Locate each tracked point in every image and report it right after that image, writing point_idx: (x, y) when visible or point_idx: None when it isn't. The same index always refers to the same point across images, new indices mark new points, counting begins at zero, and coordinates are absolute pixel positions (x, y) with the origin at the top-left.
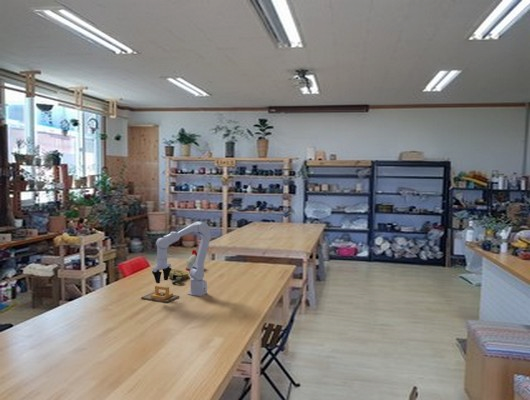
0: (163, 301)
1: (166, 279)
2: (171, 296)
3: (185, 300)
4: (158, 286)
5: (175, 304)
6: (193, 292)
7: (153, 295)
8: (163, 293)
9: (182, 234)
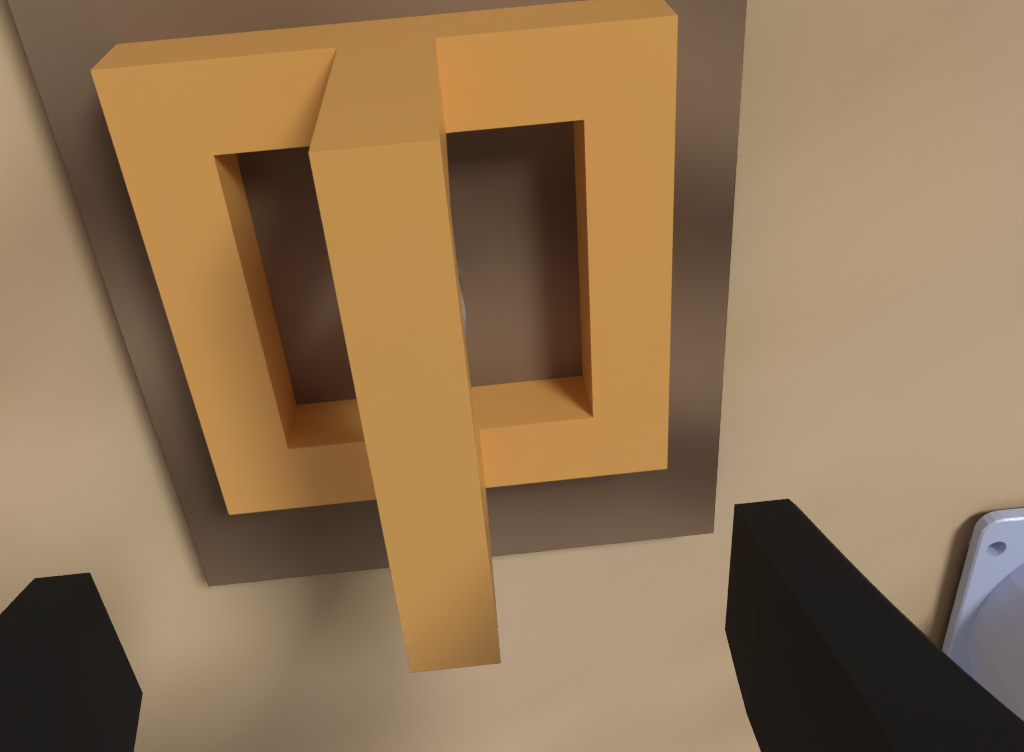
0: (186, 496)
1: (737, 647)
2: None
3: (576, 690)
4: (348, 339)
5: (264, 705)
6: (990, 663)
7: (136, 176)
8: (584, 209)
9: None
